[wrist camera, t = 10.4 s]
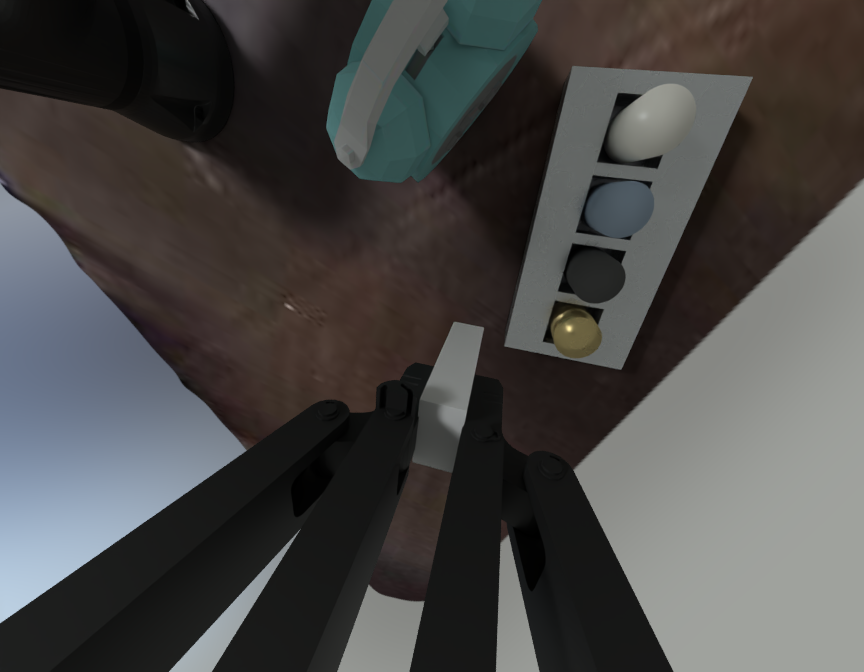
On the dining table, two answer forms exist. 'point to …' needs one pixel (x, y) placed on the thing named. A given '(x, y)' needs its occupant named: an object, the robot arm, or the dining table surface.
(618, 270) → the black rounded cylinder
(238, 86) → the dining table surface
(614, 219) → the blue ovoid
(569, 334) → the gold rounded cylinder
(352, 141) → the alarm clock
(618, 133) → the white egg
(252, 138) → the dining table surface
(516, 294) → the white socket board
